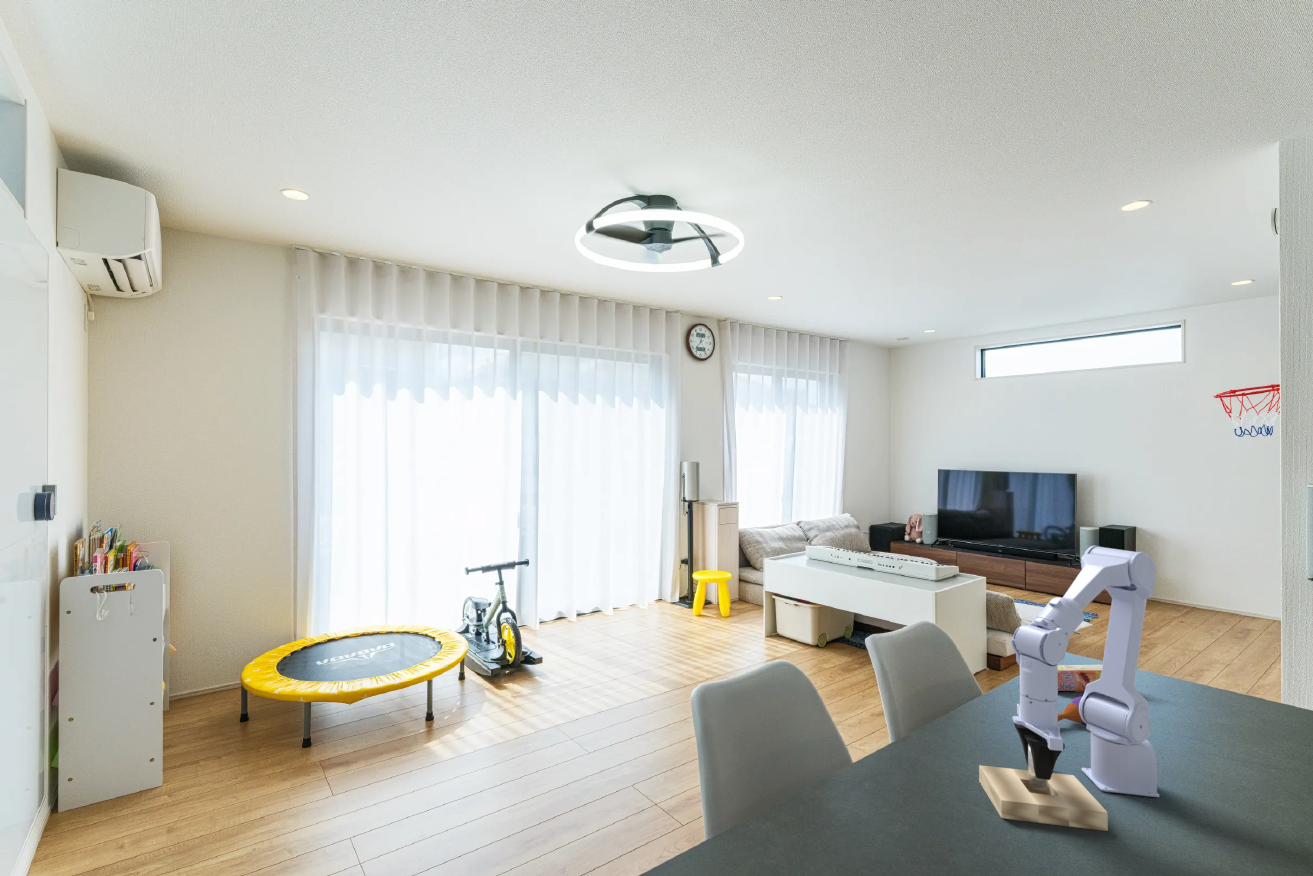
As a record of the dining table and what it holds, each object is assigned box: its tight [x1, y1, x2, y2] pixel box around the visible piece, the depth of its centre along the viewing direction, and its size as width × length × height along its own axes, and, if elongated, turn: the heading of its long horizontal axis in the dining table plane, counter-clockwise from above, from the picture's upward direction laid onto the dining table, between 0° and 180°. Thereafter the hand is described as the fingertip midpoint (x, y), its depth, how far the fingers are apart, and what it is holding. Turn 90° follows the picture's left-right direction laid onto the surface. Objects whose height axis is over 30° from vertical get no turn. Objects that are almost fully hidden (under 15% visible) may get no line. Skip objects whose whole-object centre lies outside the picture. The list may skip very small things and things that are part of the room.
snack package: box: [1057, 664, 1103, 693], centre depth 162 cm, size 21×7×7 cm, turn 89°
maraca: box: [1058, 696, 1087, 725], centre depth 140 cm, size 6×6×20 cm
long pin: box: [1027, 744, 1048, 789], centre depth 108 cm, size 3×3×7 cm
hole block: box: [978, 765, 1109, 832], centre depth 108 cm, size 16×12×3 cm
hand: (1038, 773), depth 108 cm, fingers closed on long pin, 3 cm apart
